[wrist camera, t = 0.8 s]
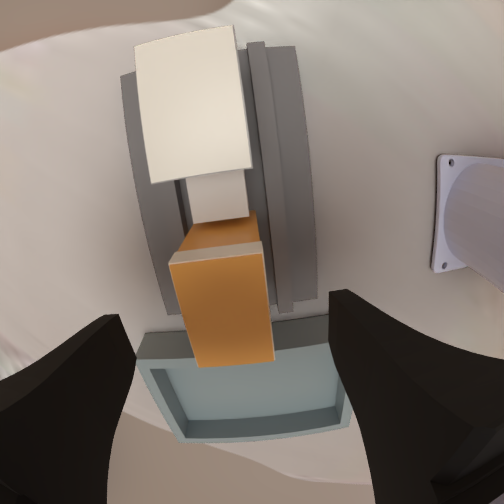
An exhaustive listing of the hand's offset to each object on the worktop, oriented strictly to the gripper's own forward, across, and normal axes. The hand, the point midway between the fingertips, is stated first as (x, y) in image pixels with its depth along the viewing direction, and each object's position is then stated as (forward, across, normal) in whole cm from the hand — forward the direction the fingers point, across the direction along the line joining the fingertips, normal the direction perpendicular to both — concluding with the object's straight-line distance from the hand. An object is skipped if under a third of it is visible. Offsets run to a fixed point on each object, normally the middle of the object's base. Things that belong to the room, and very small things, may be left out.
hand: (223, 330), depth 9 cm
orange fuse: (+7, 0, 0) cm, 7 cm away
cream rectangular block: (+7, 0, -7) cm, 10 cm away
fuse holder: (+8, 0, -4) cm, 9 cm away
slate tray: (+8, 0, +10) cm, 13 cm away
